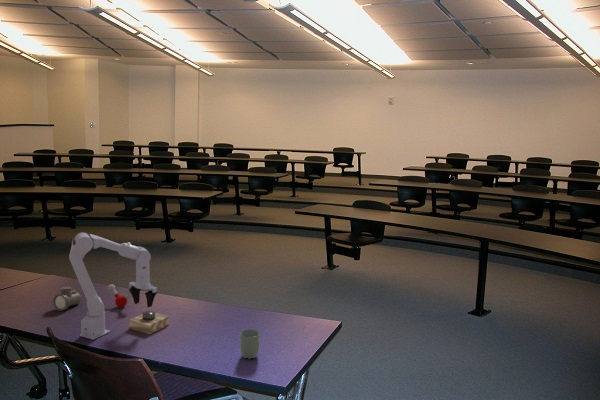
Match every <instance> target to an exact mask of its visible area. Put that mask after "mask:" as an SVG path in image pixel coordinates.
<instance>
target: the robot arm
mask: <svg viewBox="0 0 600 400" xmlns="http://www.w3.org/2000/svg"><path fill="white" fill-rule="evenodd" d="M98 248H105V249H108V250H111V251H114V252H117V253H118V254H119V256H121V257H123V258H124V257H125V258H127V259H131V260H133V261H134V260H135V276H136V277H135V281H131V282H129V283H128V285H129V286H128V287H129V290H128V292H129V291H130V293H131V294H132V297H131V298H132V299H133V302H134V304H135V305H137V304H140V294H141V290H144V291H147V292H144V295H145V298H146V306H147V308H150V307H152V306H153V304H154V300H155V297H156V295H157V293H158V287H157V286H154V285H153V284H151V282H150V279H151V277H150V273H151V272H150V271H151V270H150V261H151V259H152V256H151V253H150V252H149V250H148V249H146V248H145V247H143V246H139V245H138V246H136V245H134V244H133V245H132V244H131V242H128V241H127V243H126V242H123V243H118V242H115V241H112V240H109V239H107V238H104V237H101V236H98V235H95V234H91V233H89V234H88V233H87V232H78V233H77V234H76V235H75V236H74V238H73V239H72V241H71V247H70V251H69V255H68V259H69V262H70V263H71V267H72V268H73V271H74V273H75V276H76V277H77V278H76V279H77V280H78V282H79V285H80V287H81V289H82V291H83V294H84V296H85V299H86V307H87V309H88V310H87V312H86V315H85V316H84V317H83V318H82V319H81V321H80V334H79V336H80V337H83V338H86V339H89V340H96V339H97V338H99V337H102V336H104V335H106V334H109V333H111V330H109V329H106V311H105V310H106V306H105V304H104V302H103V301H102V298H101V297H100V296H99V295H98V293H97V291H96V289H95V287H94V284H93V282H92V279H91V277H90V275H89V273H88V270H87V268H86V267H87V266H86V265H85V263H84V261H83V260H84V258H85V256H86V254H88V253H89V252H90V251H91V250H92V249H94V250H95V249H98Z"/></svg>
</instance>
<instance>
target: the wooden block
mask: <svg viewBox="0 0 600 400" xmlns="http://www.w3.org/2000/svg"><path fill="white" fill-rule="evenodd" d="M169 318H170V317H169V315H165V314H161V313H157V312H155V319H153V320H150V321H146V320H143V313H141V314H139V315H137V316H135V317H133V318H130V319H128V324H129V325H128V329H130V330H134V331H137V332H141V333H144V334H146V335H147V334H148V335H151V334H154V333H156V332H157V331H159V330H162V329H164V328H165V327H167V326H169V325H170V322H169V321H170V320H169Z"/></svg>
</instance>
